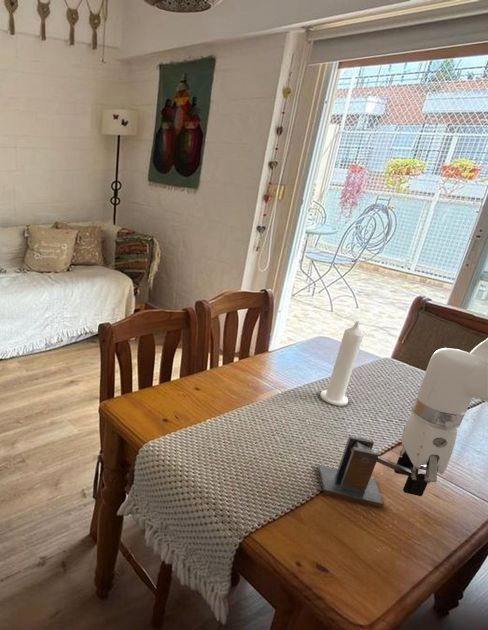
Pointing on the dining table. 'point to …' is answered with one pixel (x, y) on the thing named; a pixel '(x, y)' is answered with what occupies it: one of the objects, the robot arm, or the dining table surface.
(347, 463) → the press bracket
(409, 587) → the dining table surface
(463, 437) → the dining table surface
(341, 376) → the candle
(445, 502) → the dining table surface
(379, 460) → the press lever
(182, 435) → the dining table surface
